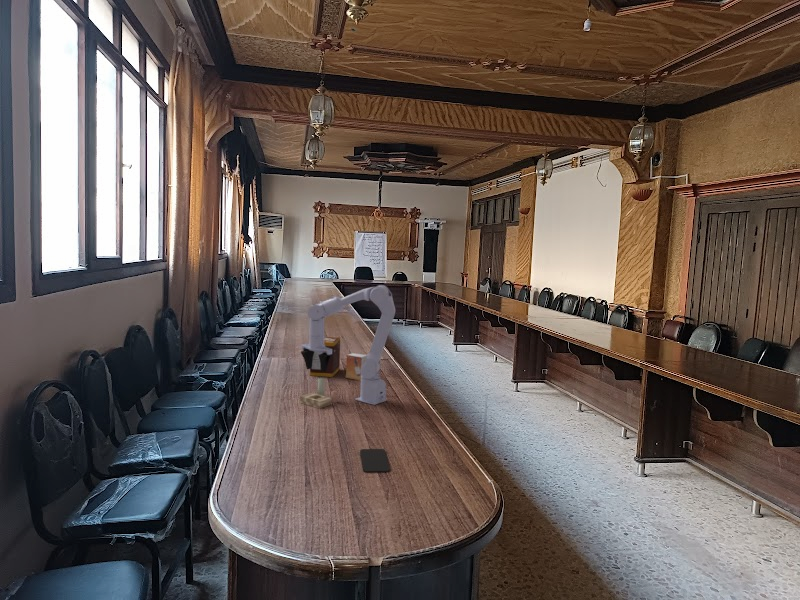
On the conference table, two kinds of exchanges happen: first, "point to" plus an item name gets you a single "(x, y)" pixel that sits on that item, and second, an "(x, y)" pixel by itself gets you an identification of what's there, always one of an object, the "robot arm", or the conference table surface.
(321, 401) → the hole plate
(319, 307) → the robot arm
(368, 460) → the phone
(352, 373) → the small box
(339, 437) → the conference table surface
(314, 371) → the supplement box
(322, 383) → the long pin
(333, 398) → the short pin
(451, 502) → the conference table surface
